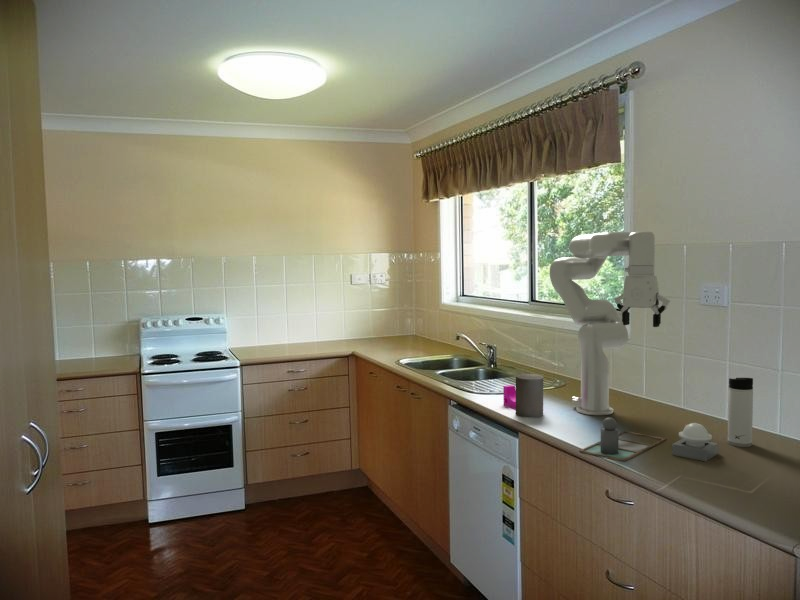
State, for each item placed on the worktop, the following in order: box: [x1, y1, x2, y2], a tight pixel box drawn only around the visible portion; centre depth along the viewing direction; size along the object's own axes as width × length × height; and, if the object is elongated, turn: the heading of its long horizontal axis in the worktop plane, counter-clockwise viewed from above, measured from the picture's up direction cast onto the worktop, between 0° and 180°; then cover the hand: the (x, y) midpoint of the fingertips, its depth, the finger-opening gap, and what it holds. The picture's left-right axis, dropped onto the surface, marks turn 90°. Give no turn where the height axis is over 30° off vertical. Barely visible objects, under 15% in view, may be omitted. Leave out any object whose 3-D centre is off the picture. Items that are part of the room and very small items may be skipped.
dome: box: [678, 422, 713, 448], centre depth 178 cm, size 8×8×7 cm
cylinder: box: [600, 417, 620, 454], centre depth 180 cm, size 5×5×10 cm
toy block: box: [503, 384, 516, 410], centre depth 235 cm, size 15×6×8 cm, turn 24°
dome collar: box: [671, 438, 719, 462], centre depth 178 cm, size 9×9×3 cm
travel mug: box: [727, 377, 754, 448], centre depth 186 cm, size 6×7×20 cm
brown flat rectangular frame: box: [579, 430, 667, 463], centre depth 187 cm, size 13×28×1 cm, turn 135°
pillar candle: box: [515, 373, 544, 419], centre depth 225 cm, size 10×10×15 cm
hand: (640, 325), depth 201 cm, fingers open, 9 cm apart
